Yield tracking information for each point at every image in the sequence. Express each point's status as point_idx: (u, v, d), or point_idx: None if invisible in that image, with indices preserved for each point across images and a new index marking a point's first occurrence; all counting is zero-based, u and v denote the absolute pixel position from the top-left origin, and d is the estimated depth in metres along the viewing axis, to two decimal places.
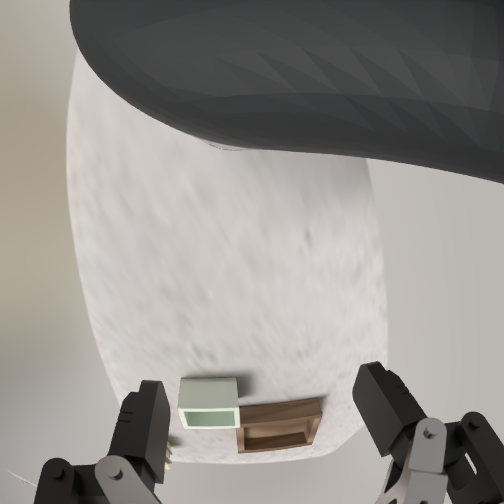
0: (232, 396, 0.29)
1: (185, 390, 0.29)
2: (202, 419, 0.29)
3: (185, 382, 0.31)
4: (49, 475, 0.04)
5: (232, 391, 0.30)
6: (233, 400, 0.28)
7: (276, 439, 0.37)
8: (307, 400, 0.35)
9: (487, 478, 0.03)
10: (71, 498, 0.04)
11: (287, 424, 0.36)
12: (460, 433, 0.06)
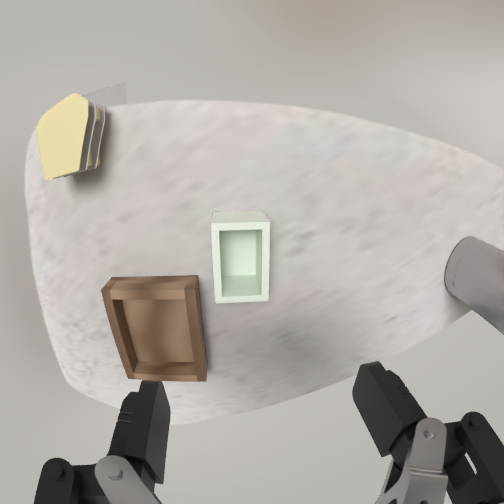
0: None
1: None
2: None
3: None
4: (49, 475, 0.04)
5: None
6: None
7: (127, 333, 0.28)
8: (205, 355, 0.31)
9: (487, 478, 0.03)
10: (71, 498, 0.04)
11: (158, 341, 0.29)
12: (460, 433, 0.06)
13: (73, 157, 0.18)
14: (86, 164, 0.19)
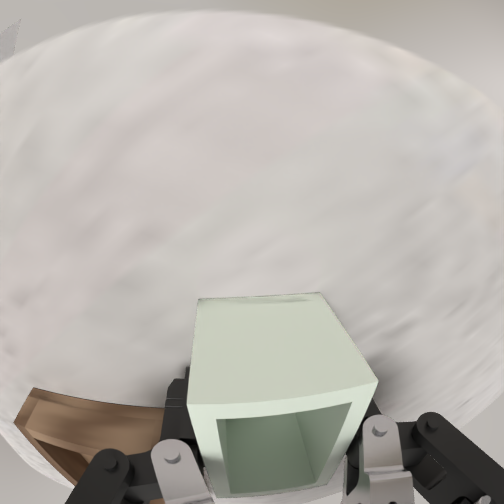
0: None
1: None
2: (220, 422, 0.07)
3: None
4: (100, 465, 0.05)
5: None
6: None
7: (78, 460, 0.12)
8: None
9: (460, 476, 0.04)
10: (119, 491, 0.04)
11: None
12: (418, 436, 0.06)
13: None
14: None
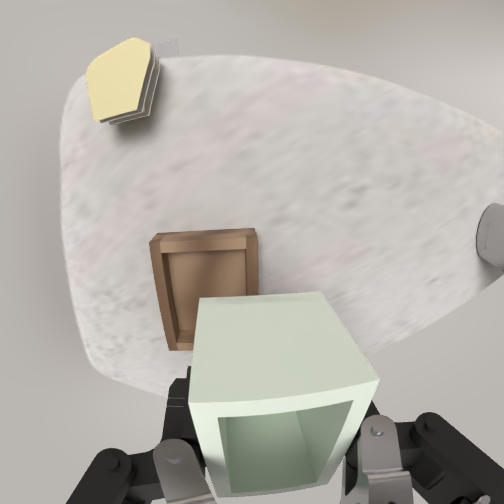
0: None
1: None
2: (221, 421, 0.07)
3: None
4: (102, 464, 0.05)
5: None
6: None
7: (171, 296, 0.27)
8: None
9: (459, 476, 0.04)
10: (121, 491, 0.04)
11: None
12: (416, 437, 0.06)
13: (131, 96, 0.17)
14: (142, 106, 0.19)
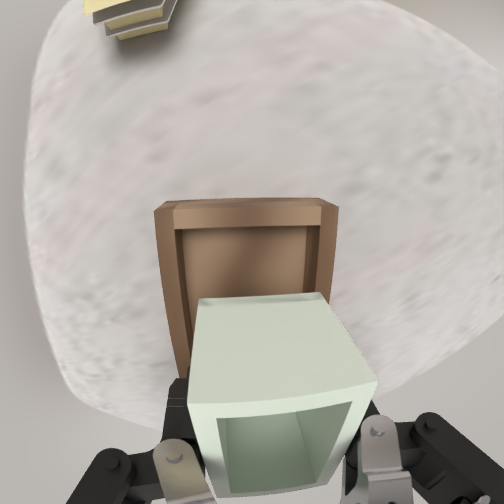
0: None
1: None
2: (220, 421, 0.07)
3: None
4: (102, 464, 0.05)
5: None
6: None
7: (187, 303, 0.17)
8: None
9: (459, 476, 0.04)
10: (121, 491, 0.04)
11: None
12: (416, 437, 0.06)
13: None
14: None
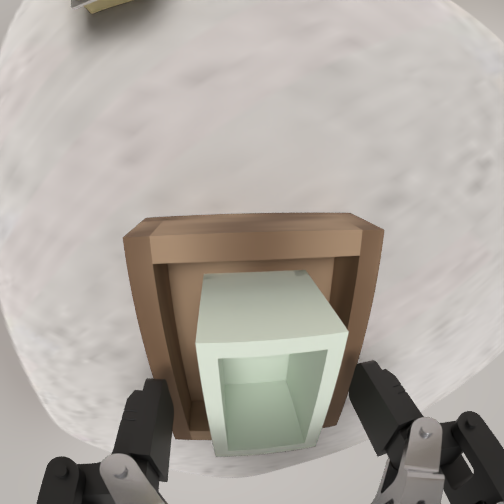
0: None
1: None
2: (220, 373, 0.09)
3: None
4: (53, 474, 0.04)
5: None
6: None
7: (177, 350, 0.13)
8: None
9: (485, 478, 0.03)
10: (76, 497, 0.04)
11: None
12: (456, 433, 0.06)
13: None
14: None
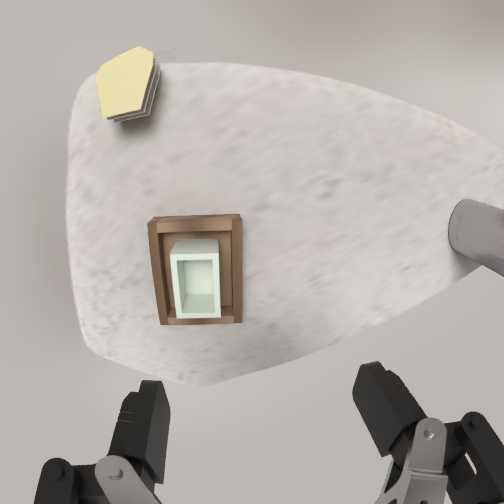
0: None
1: None
2: (179, 272, 0.27)
3: None
4: (49, 475, 0.04)
5: None
6: None
7: (164, 274, 0.30)
8: None
9: (487, 478, 0.03)
10: (72, 498, 0.04)
11: None
12: (460, 433, 0.06)
13: (135, 98, 0.21)
14: (144, 107, 0.22)
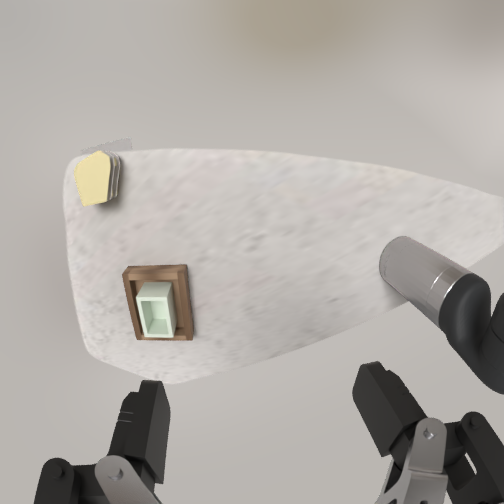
0: (174, 327, 0.41)
1: (170, 292, 0.40)
2: (144, 307, 0.38)
3: (171, 287, 0.41)
4: (49, 475, 0.04)
5: (175, 325, 0.41)
6: (173, 330, 0.40)
7: None
8: (192, 322, 0.45)
9: (487, 478, 0.03)
10: (71, 498, 0.04)
11: None
12: (460, 433, 0.06)
13: (102, 193, 0.32)
14: (110, 196, 0.33)
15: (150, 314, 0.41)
